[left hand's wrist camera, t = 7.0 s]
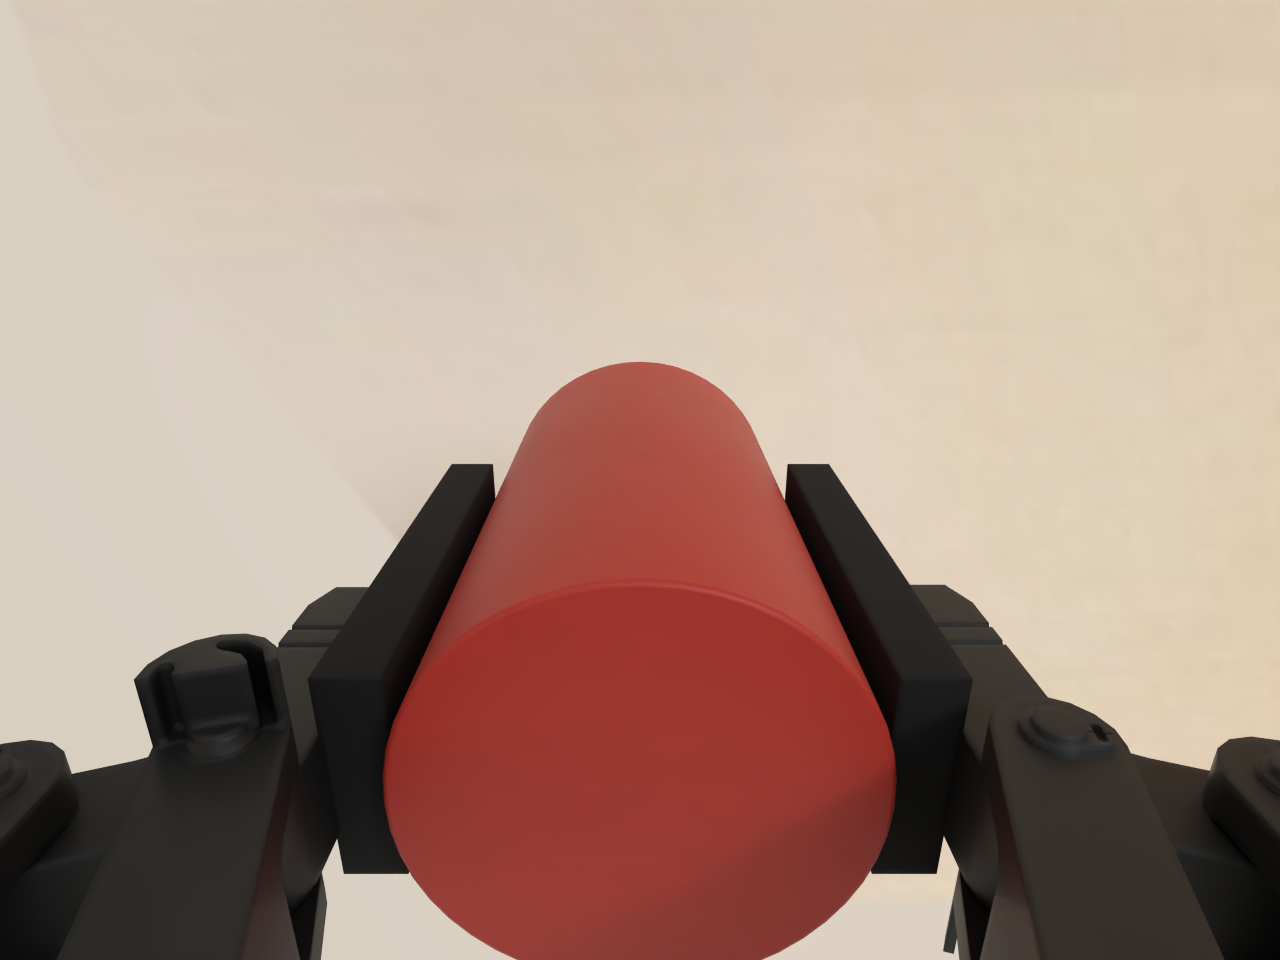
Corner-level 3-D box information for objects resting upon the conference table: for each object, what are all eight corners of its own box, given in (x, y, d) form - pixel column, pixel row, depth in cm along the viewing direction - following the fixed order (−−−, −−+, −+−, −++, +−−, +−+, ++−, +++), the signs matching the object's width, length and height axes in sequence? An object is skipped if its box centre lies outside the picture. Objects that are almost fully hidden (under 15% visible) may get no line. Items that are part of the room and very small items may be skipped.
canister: (474, 521, 17) (302, 876, 8) (593, 311, 15) (531, 481, 7) (679, 627, 18) (716, 1043, 9) (811, 442, 16) (1007, 736, 8)
